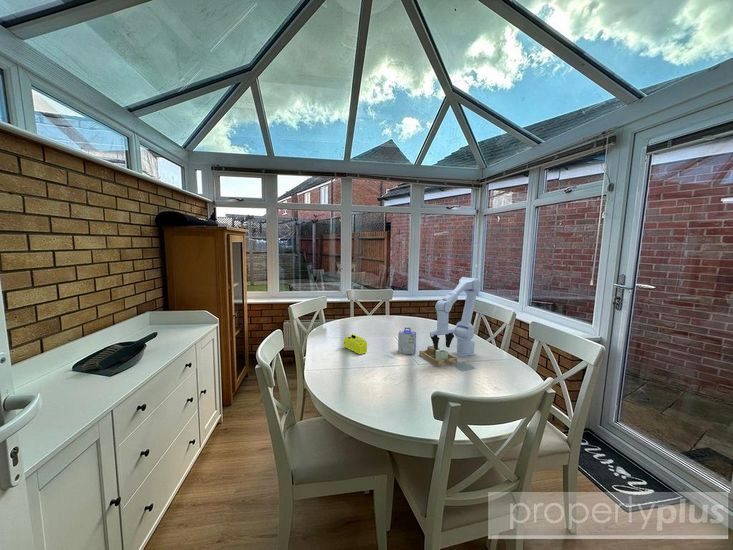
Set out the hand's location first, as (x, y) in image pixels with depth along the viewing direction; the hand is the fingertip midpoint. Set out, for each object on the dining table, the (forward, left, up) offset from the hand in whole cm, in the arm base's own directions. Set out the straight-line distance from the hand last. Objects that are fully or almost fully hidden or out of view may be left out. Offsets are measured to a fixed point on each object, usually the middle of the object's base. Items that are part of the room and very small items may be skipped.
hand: (441, 347), depth 160 cm
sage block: (0, 0, -7) cm, 7 cm away
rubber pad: (-6, +10, -8) cm, 14 cm away
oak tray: (0, -4, -8) cm, 9 cm away
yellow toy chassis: (+36, -34, -8) cm, 51 cm away
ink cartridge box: (+10, -19, -8) cm, 23 cm away
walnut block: (0, -8, -7) cm, 10 cm away
